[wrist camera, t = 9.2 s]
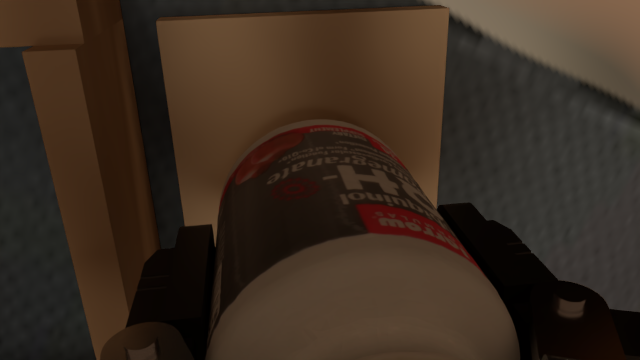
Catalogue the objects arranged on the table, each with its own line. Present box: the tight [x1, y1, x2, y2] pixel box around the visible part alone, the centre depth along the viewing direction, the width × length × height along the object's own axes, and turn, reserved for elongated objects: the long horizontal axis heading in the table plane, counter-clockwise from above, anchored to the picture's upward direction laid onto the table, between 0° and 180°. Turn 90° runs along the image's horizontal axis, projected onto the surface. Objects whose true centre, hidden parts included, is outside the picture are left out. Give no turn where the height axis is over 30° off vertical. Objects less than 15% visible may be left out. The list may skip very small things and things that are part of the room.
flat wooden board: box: [156, 5, 449, 246], centre depth 17 cm, size 8×10×1 cm
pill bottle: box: [205, 119, 520, 360], centre depth 11 cm, size 5×5×10 cm
